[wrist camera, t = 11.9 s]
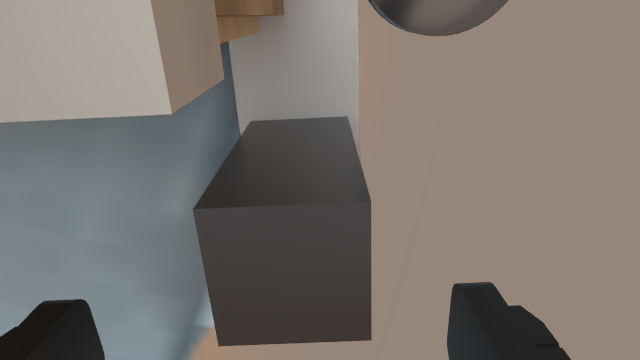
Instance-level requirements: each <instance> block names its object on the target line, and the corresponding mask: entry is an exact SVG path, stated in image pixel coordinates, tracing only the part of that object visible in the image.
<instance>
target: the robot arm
mask: <svg viewBox="0 0 640 360" xmlns="http://www.w3.org/2000/svg"><path fill="white" fill-rule="evenodd" d="M447 348H448V355H449V360H571V359H570V358H569V356H568V355H567V354H566V352H565V351H564V350H563V349H562V348H560V347H559V343H558V342H557V340H556V339H555V338H554V336H553V335H552V334H551V333H550V331H549V330H548V329H547V327H546V326H545V324H544V323H543V322H542V321H540V320H539V319H538V318H536V317H535V316H534V315H532V314H531V313H529V312H528V311H527V310H525V309H524V308H523V307H521V306H508V305H507V303H506V302H505V300H504V299H503V298H502V296H501V295H500V293H499V292H498V290H497V289H496V287H495V286H494V285H493V284H492V283H491V282H481V283H460V284H454V286H453V289H452V296H451V305H450V315H449V325H448V335H447ZM0 360H105V357H104V351H103V348H102V345H101V342H100V338H99V335H98V332H97V329H96V326H95V323H94V320H93V316H92V313H91V310H90V307H89V305H88V303H87V302H86V301H85V300H82V299H76V300H54V301H44V302H42V303H41V304H39V305H38V306H37V307H36V308H35V309H34V310H33V311H32V312H31V313H30V314H29V316H28V317H27V318H26V319H25V320H24V321H23V322H22V323H21V324H20V325H19V326H18V327H14V328H13V329H11V330H10V331H8V332H7V333H5V334H4V335H2V336H1V337H0Z"/></svg>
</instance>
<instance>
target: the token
mask: <svg viewBox="0 0 640 360" xmlns="http://www.w3.org/2000/svg"><path fill="white" fill-rule="evenodd" d="M368 1H369V2H370V4H371V5H372V6H373V8H374V9H375V10H376V11H377V12H378V13H379V14H380V16H381V17H383V18H384V19H385V20H387V21H388V22H389V23H391V24H392V25H394V26H396V27H398V28H400V29H403V30H405V31H408V32H412V33H416V34H422V35H428V36H447V35H452V34H458V33H461V32H464V31H467V30H469V29H472V28H473V27H476V26H478V25H480V24H481V23H483V22H484V21H486V20H488V19H489V18H490V17H491V16H493V15H494V14H495V13H496V12H498V11H499V10H500V8H501V7H503V5H504V4H506V2H507V1H508V0H368Z"/></svg>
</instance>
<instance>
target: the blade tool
mask: <svg viewBox="0 0 640 360" xmlns="http://www.w3.org/2000/svg"><path fill="white" fill-rule="evenodd" d="M283 5H284V15H275V16H259V23H260V32H259V33H255V34H252V35H249V36H245V37H242V38H238V39H235V40H231V41H228V43H229V51H230V58H231V66H232V74H233V82H234V90H235V98H236V105H237V113H238V121H239V129H240V138H239V140H238V141H237V143H236V144H235V146H234V147H233V149H232V150H231V152H230V153H229V155H228V157H227V158H226V160H225V161H224V163H223V164H222V166H221V167H220V169H219V170H218V172H217V173H216V175H215V176H214V178H213V180H212V181H211V183H210V184H209V186H208V187H207V189H206V190H205V192H204V193H203V195H202V196H201V198H200V200H199V201H198V203H197V204H196V206H195V207H194V209H193V211H194V217H195V222H196V227H197V233H198V238H199V244H200V249H201V254H202V260H203V265H204V270H205V276H206V281H207V286H208V292H209V297H210V302H211V308H212V313H213V318H214V324H215V329H216V334H217V340H218V345H219V346H234V345H259V344H285V343H311V342H336V341H337V342H338V341H361V340H371V200H370V196H369V192H368V189H367V185H366V182H365V178H364V174H363V171H362V167H361V163H360V103H359V101H360V100H359V30H358V29H359V24H358V23H359V22H358V0H283Z"/></svg>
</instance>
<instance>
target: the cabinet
mask: <svg viewBox="0 0 640 360" xmlns="http://www.w3.org/2000/svg"><path fill="white" fill-rule="evenodd" d="M275 15H284V5H283V0H0V123H3V122H24V121H44V120H65V119H85V118H105V117H126V116H146V115H167V114H173V113H175V112H176V111H178V110H179V109H181V108H182V107H184V106H185V105H187V104H188V103H190V102H191V101H193V100H194V99H196V98H197V97H198V96H200V95H201V94H203V93H204V92H206V91H207V90H209V89H210V88H212V87H213V86H215V85H216V84H218V83H219V82H221V81H222V80H224V79H225V77H224V69H223V62H222V54H221V47H220V44H221V43H224V42H228V41H231V40H235V39H238V38H242V37H245V36H249V35H252V34H255V33H259V32H260V23H259V16H275Z"/></svg>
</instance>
